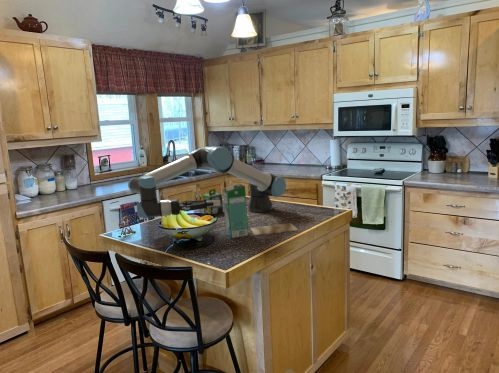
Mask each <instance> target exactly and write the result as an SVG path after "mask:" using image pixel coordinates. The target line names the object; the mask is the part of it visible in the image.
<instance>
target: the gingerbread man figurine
mask: <svg viewBox="0 0 499 373" xmlns="http://www.w3.org/2000/svg"><path fill="white" fill-rule="evenodd" d="M124 214H125V215H124ZM120 216H121V220H119V222H118V227H119V228H122V230H121V232H120V234H121V235H122V234H123V235H126V234H130V233H134V232H136V230H133V229H132V228H131V226H130V225H129V222H130V221H131V220H132V218H133V217H132V215H131V214H128V213H127V212H122V213H121V215H120ZM128 219H129V220H128ZM127 227H128V228H127ZM136 233H137V232H136ZM134 234H135V233H134Z"/></svg>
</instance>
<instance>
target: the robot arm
mask: <svg viewBox="0 0 499 373" xmlns="http://www.w3.org/2000/svg"><path fill="white" fill-rule="evenodd" d="M202 168H203V169H204V168H205V169H206V168H207V169H212V170H215V171H217V172H219V173H222V174H227V173H228V174H230V175H232V176H234V177H236V178H238V179H241V180H243V181H245V182H247V183H249V184H248V186H249V201H248V202H249V203H248V206H247V211H248V212H250V213H267V212H271V211H273V207H274V206H273V204H272V201H271V198H270V197H274V198H280V197H281V196H283V195H284V194H285V192H286V188H287V184H286V183H287V182H286V180H285V178H284V177H282V176H277V175H274V174H273V173H270V172H267V171H261V170H259V169H256V168H255V167H254V166H250V165H249V164H247V163H245V162H243V161H241V160H239V159H237V158H235V155H234V153H232V152H231V151H230V150H229V149H228V148H226V147H225V146H219V145H217V146H215V145H214V146H212V145H204V146H202V147H199V148H197V149H195V150H193V151H191V152H188V153H187V154H186V156H183V157H181V158H179V159H177V160H175V161H173V162H170V163H168V164H166V165H163V166H161V167H159V168H157V169H154V170H152V171H150V172H148V173H146V174H143V175H140V176H139V177H137V176H135V177H131V178H130V179H129V180H128V183H127V186H128V189H129V190H130V191H131V192H132V193H134V194H137V195H139V196H140V201H139V202H137V203H136V213H137V217H138V218H139V219H145V218H148V219H149V218H157V217H158V218H159V217H164V218H166V217H167V216H171V215H172V216H178V215H180V214H181V211H184V212H192V211H197V210H204V209H205V208H206V209H207V207H213V206H220V200H211V201H206V199H205V200H203V199H201V200H200V199H199V200H184V201H182V202H180V201H179V200H180V199H179V198H174V199H173V198H172V199H162V200H158V196H157V193H158V192H157V186H159V185H161V184H164V183H165V182H167V181H170V180H172V179H174V178H176V177H179V176H181V175H182V174H185V173H187V172H189V171H190V172H191V170H193V171H196V170H198V169H202Z"/></svg>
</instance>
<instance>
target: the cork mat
mask: <svg viewBox="0 0 499 373" xmlns="http://www.w3.org/2000/svg"><path fill="white" fill-rule="evenodd" d="M296 231H297V232H298V231H299V230H298V228H297V227H296V226H295V225H293V224H292V223H291V222H290V223H281V224H280V223H279V224H271V225H263V226H255V227H250V232H252V234H253V236H254V237H256V236H265V235H274V234H280V233H281V234H282V232H283V233H289V232H296Z"/></svg>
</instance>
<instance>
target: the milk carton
mask: <svg viewBox="0 0 499 373" xmlns="http://www.w3.org/2000/svg"><path fill="white" fill-rule="evenodd" d="M222 203H223V212H224V224H225V225H224V227H225V234H226V235H227V236H228V237H229V238H230V239H236V238H241V237H247V236H249V227H248V225H249V224H248V212H247V211H248V207H247V197H246V186H245V185H244V184H241V183H237V184H234V185H229V186H226V187H225V188H223V189H222Z"/></svg>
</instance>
